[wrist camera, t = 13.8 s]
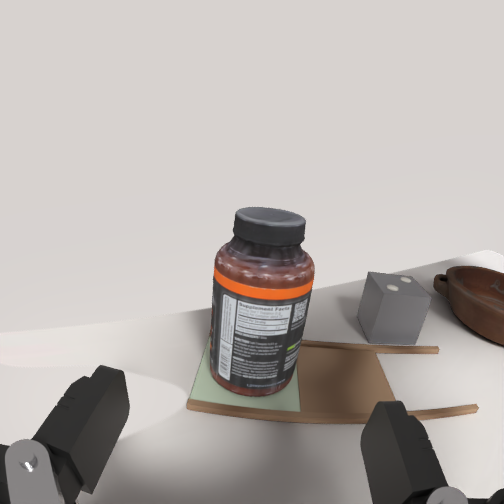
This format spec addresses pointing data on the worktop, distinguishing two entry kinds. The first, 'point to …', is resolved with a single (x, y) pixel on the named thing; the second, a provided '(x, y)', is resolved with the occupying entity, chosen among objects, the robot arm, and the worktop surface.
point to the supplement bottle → (260, 302)
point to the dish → (475, 298)
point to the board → (317, 387)
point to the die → (392, 308)
